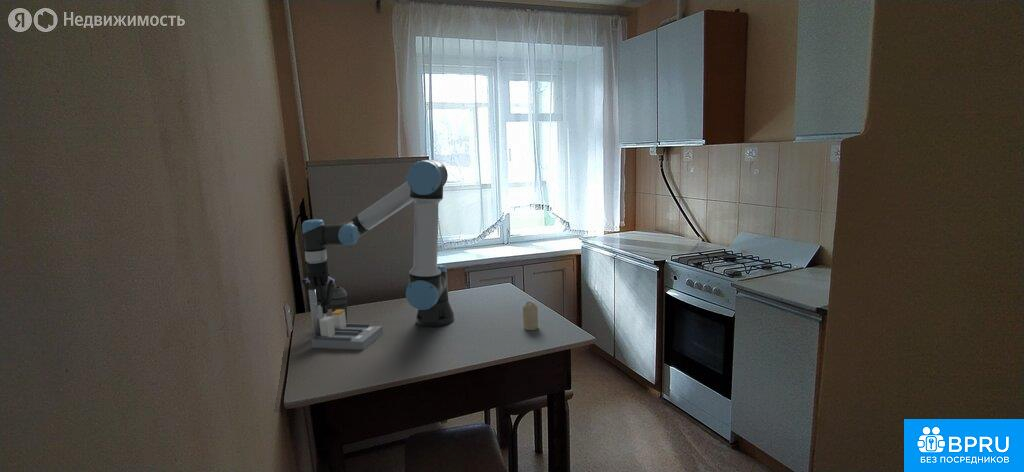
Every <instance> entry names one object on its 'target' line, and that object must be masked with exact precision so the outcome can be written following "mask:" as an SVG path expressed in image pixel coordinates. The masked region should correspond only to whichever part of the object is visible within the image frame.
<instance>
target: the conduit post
mask: <svg viewBox="0 0 1024 472" xmlns="http://www.w3.org/2000/svg"><path fill="white" fill-rule="evenodd" d="M308 292H309V296H308V299H309V307H310V308H309V309H310V315H311V322H312V323H311V324H312V334H313V339H317V337H318V336H321V331H320V322H319V314H318V305H317V297H316V289H310V290H308Z"/></svg>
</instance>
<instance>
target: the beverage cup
mask: <svg viewBox="0 0 1024 472" xmlns="http://www.w3.org/2000/svg"><path fill="white" fill-rule="evenodd" d="M332 279H335V276H332ZM336 284H337V283H335V284H334V288H333V296H332V302H331V303H329V304H330V308H331V313H332V312H334V311H335V310H337V309H345V317H346V323H348V303H347V302H348V294H347V293H348V292H347V291H346V289H344V288H343V287H340V286H337V285H336Z"/></svg>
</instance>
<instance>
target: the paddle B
mask: <svg viewBox="0 0 1024 472" xmlns="http://www.w3.org/2000/svg"><path fill="white" fill-rule="evenodd" d="M319 322H320V331H321V336H330V337H332V336H333V335H335V329H334V321H333V317H332V316H325V317H324V318H322V319H320V320H319Z"/></svg>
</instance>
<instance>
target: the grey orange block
mask: <svg viewBox="0 0 1024 472" xmlns="http://www.w3.org/2000/svg"><path fill="white" fill-rule="evenodd" d="M331 317H333V321H334V328H345V327H346V317H345V309H337V310H335V311H334V312H332V311H331Z"/></svg>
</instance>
